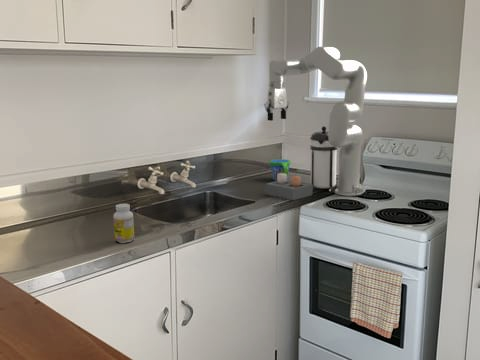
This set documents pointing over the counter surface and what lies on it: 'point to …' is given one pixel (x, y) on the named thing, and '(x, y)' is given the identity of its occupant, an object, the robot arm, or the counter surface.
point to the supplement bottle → (123, 222)
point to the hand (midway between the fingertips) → (276, 119)
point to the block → (289, 190)
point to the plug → (282, 178)
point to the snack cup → (279, 167)
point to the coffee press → (322, 161)
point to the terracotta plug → (296, 181)
